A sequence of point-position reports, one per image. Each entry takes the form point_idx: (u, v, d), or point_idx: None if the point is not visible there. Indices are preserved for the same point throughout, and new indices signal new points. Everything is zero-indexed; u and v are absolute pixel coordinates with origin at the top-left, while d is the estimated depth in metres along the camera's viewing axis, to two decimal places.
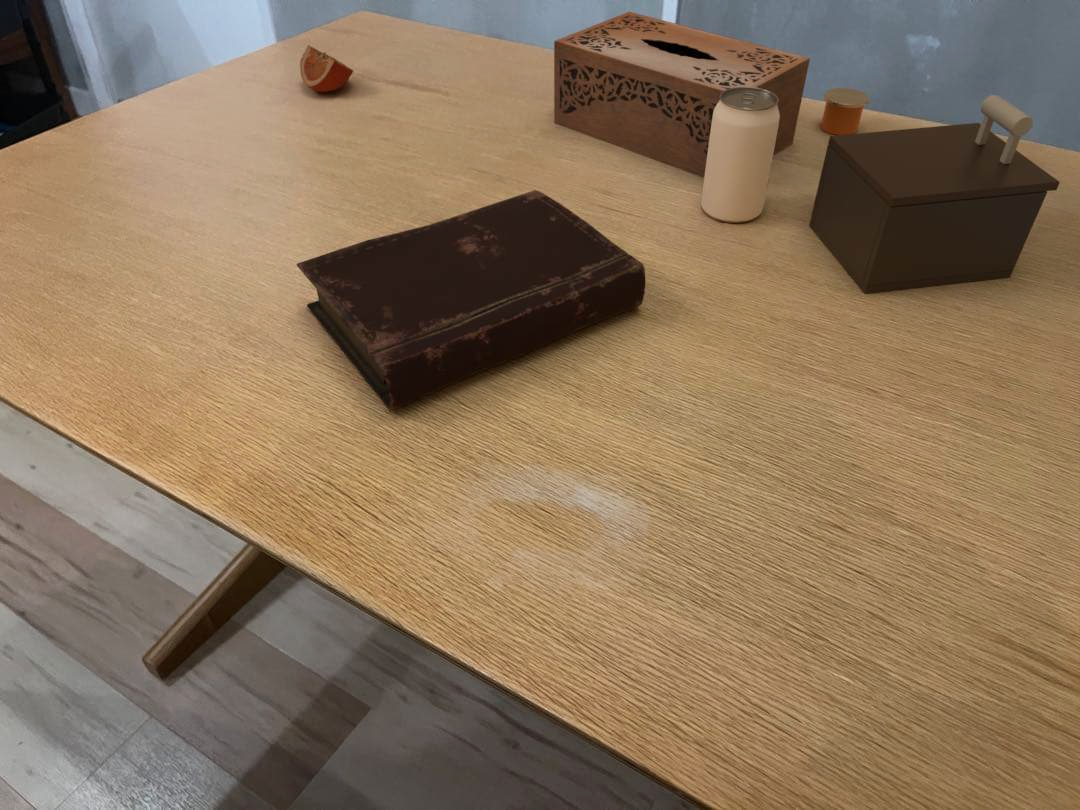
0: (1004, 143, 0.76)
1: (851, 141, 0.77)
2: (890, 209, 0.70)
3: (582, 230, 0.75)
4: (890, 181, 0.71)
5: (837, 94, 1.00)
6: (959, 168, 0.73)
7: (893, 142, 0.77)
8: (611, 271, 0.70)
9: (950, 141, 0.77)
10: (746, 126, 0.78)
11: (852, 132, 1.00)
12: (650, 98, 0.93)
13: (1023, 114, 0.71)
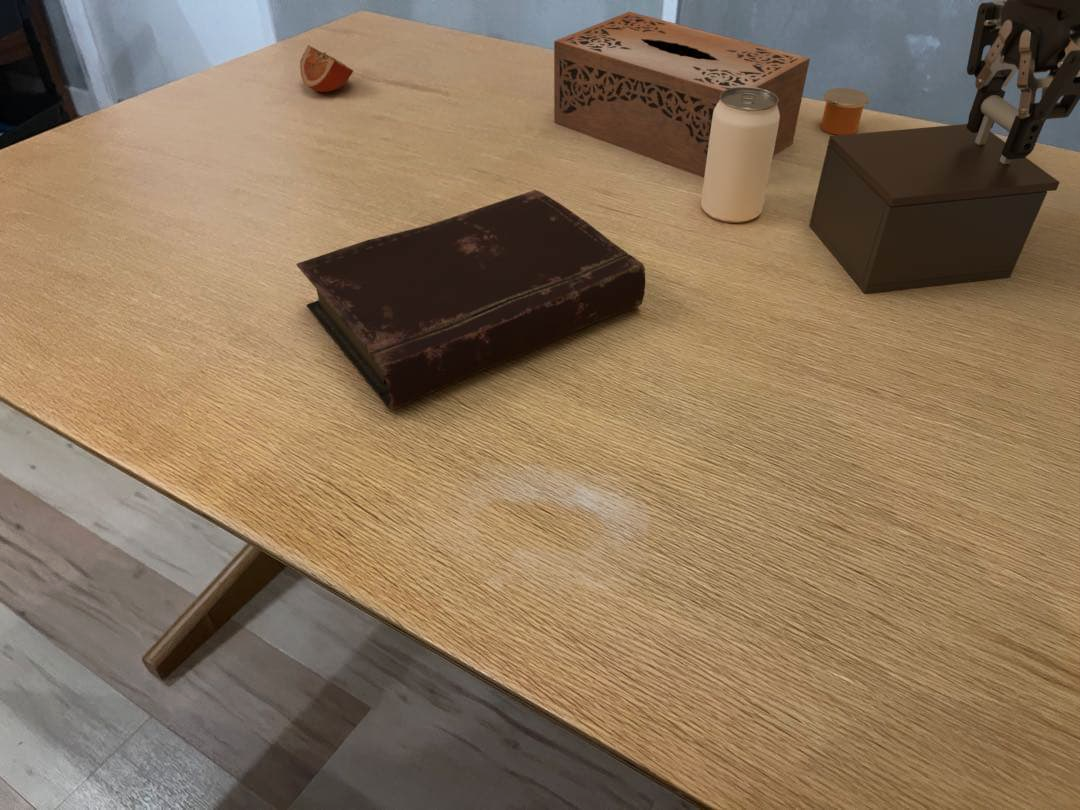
0: (1004, 143, 0.76)
1: (851, 141, 0.77)
2: (890, 209, 0.70)
3: (582, 230, 0.75)
4: (890, 181, 0.71)
5: (837, 94, 1.00)
6: (959, 168, 0.73)
7: (893, 142, 0.77)
8: (611, 271, 0.70)
9: (950, 141, 0.77)
10: (746, 126, 0.78)
11: (852, 132, 1.00)
12: (650, 98, 0.93)
13: None
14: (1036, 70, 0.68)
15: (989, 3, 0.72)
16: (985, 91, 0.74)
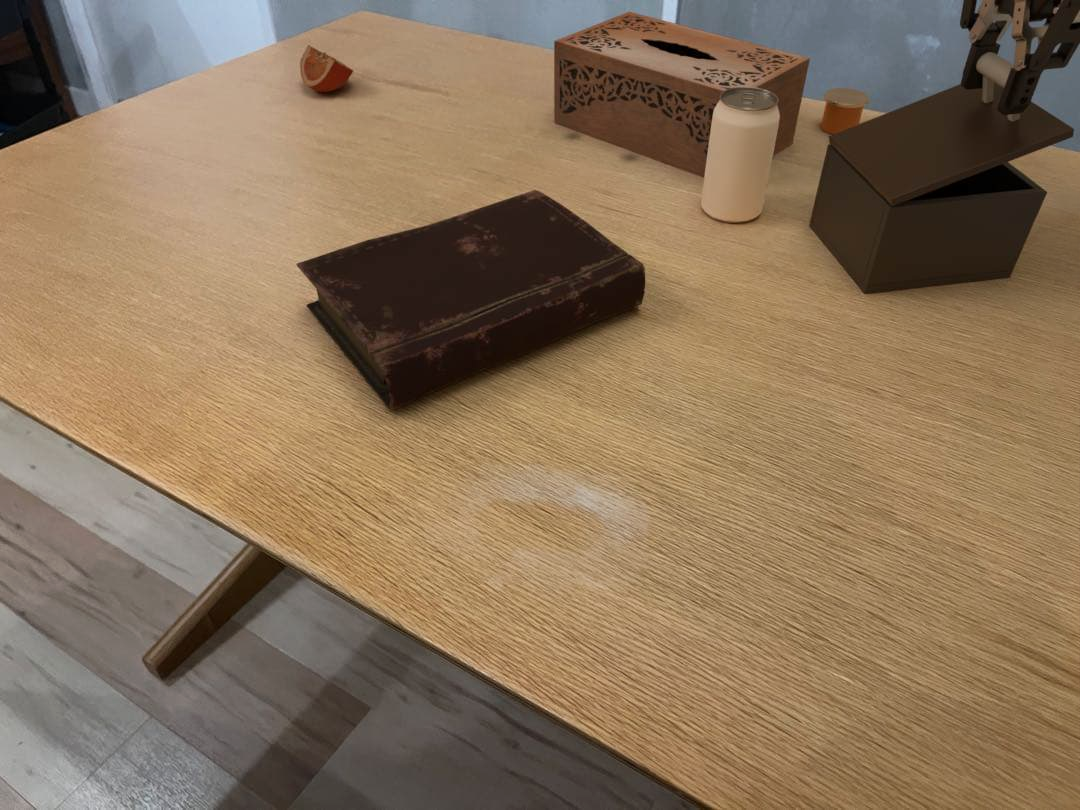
0: None
1: (850, 137, 0.77)
2: (890, 209, 0.70)
3: (582, 230, 0.75)
4: (889, 177, 0.71)
5: (837, 94, 1.00)
6: (963, 141, 0.71)
7: (894, 126, 0.76)
8: (611, 271, 0.70)
9: (955, 107, 0.75)
10: (746, 126, 0.78)
11: None
12: (650, 98, 0.93)
13: None
14: (1031, 19, 0.65)
15: None
16: (979, 45, 0.71)
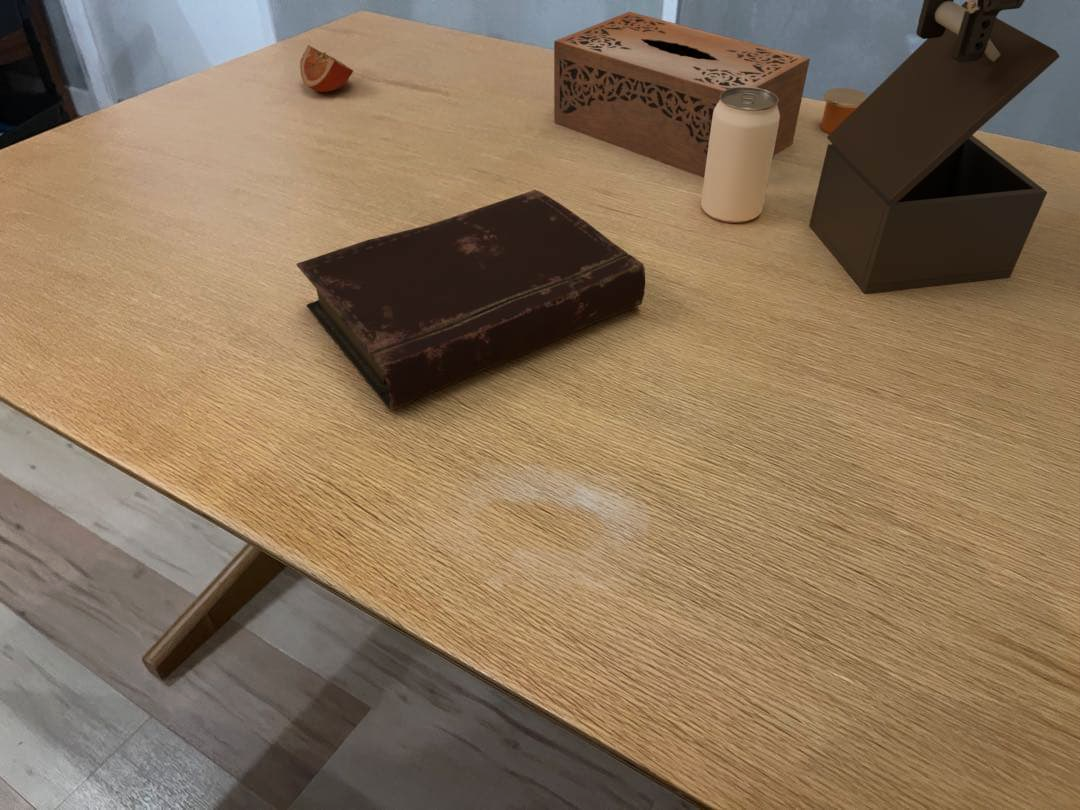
0: None
1: (845, 132, 0.76)
2: (890, 209, 0.70)
3: (582, 230, 0.75)
4: (885, 173, 0.71)
5: (837, 94, 1.00)
6: (948, 104, 0.68)
7: (883, 104, 0.74)
8: (611, 271, 0.70)
9: (938, 60, 0.71)
10: (746, 126, 0.78)
11: None
12: (650, 98, 0.93)
13: None
14: None
15: None
16: None
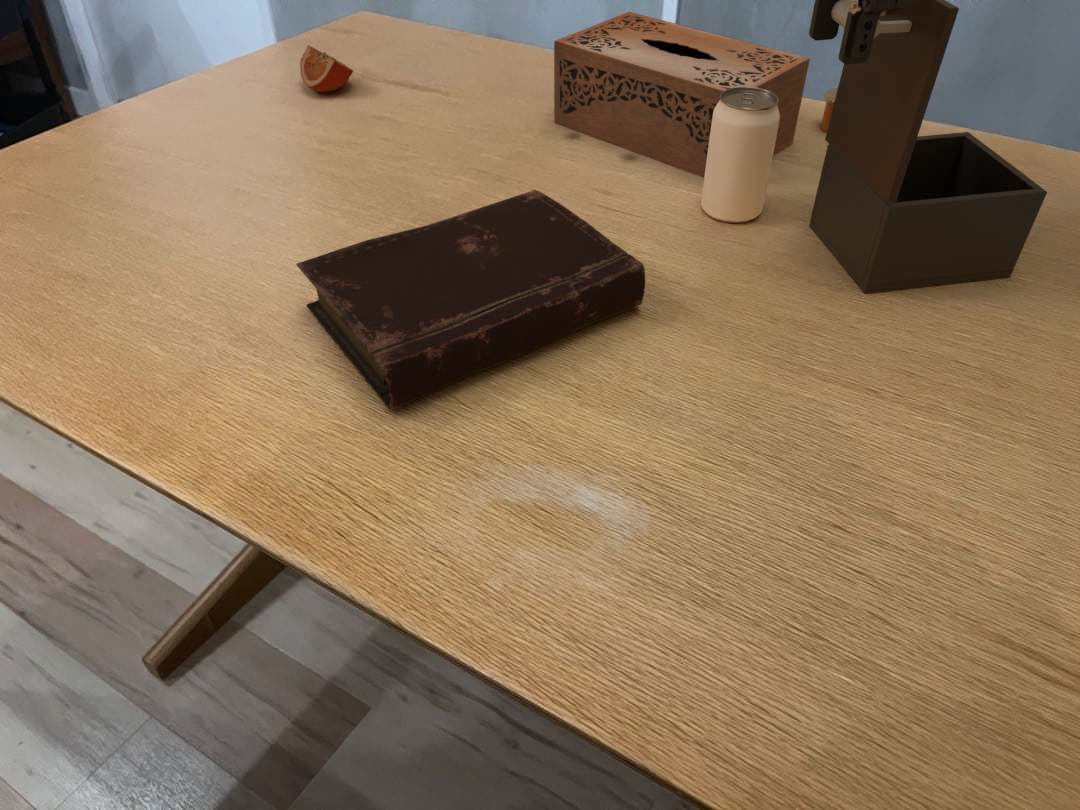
0: None
1: (835, 132, 0.76)
2: (890, 209, 0.70)
3: (582, 230, 0.75)
4: (875, 174, 0.70)
5: None
6: (894, 87, 0.67)
7: (850, 96, 0.73)
8: (611, 271, 0.70)
9: None
10: (746, 126, 0.78)
11: None
12: (650, 98, 0.93)
13: None
14: None
15: None
16: None
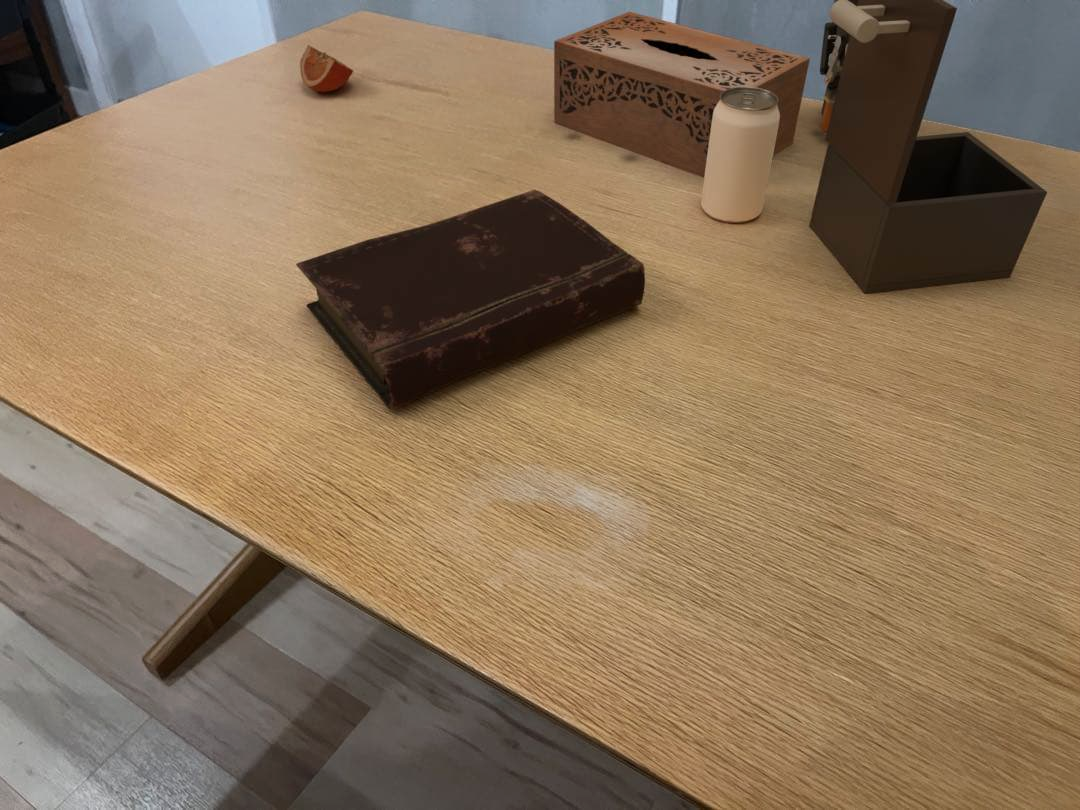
0: None
1: (835, 132, 0.76)
2: (890, 209, 0.70)
3: (581, 230, 0.75)
4: (875, 174, 0.70)
5: None
6: (892, 87, 0.67)
7: (850, 96, 0.73)
8: (611, 270, 0.70)
9: None
10: (746, 126, 0.78)
11: None
12: (650, 98, 0.93)
13: (854, 29, 0.63)
14: None
15: (831, 23, 0.99)
16: (831, 86, 1.01)
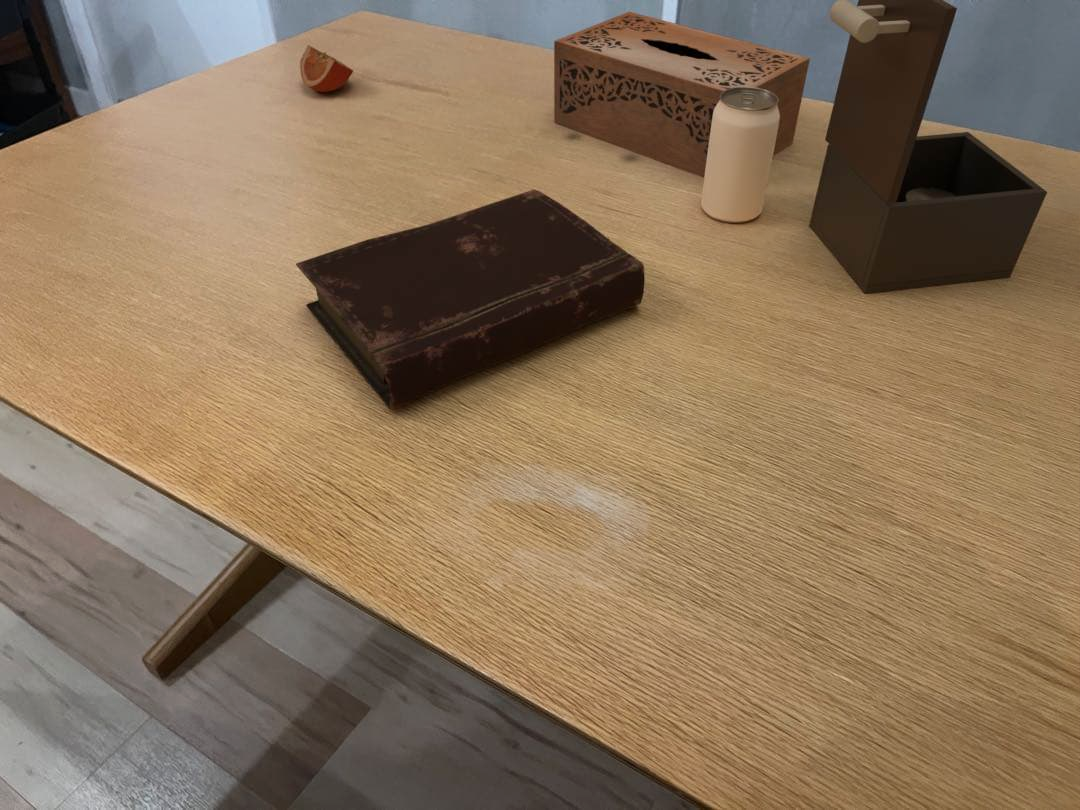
0: None
1: (835, 132, 0.76)
2: (890, 209, 0.70)
3: (581, 229, 0.75)
4: (875, 174, 0.70)
5: (922, 197, 0.79)
6: (892, 87, 0.67)
7: (850, 96, 0.73)
8: (610, 270, 0.71)
9: None
10: (746, 126, 0.78)
11: None
12: (650, 98, 0.93)
13: (854, 29, 0.63)
14: None
15: None
16: None
